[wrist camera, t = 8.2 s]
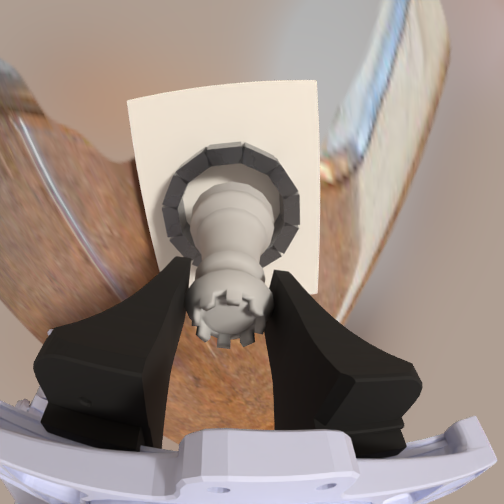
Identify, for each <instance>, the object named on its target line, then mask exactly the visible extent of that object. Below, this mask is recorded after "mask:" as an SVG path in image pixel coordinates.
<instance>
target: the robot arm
mask: <svg viewBox="0 0 504 504" xmlns="http://www.w3.org/2000/svg"><path fill="white" fill-rule="evenodd" d="M191 259H192V258H186V257H179V256H176V257H174V258H173V259H172V260H171V261H170V263H169V264H168V265H167V266H166V267H165V268H164V269H163V270H162V271H161V272H160V273H159V274H158V275H157V276H155V277H154V278H153V279H152V280H151V281H150V282H149V283H148V284H146V285H145V286H144V287H143V288H141V289H140V290H139V291H138V292H136V293H135V294H134V295H132V296H131V297H129V298H128V299H126V300H125V301H123V302H121V303H119V304H117V305H116V306H114V307H112V308H110V309H108V310H106V311H104V312H102V313H99V314H97V315H95V316H92V317H90V318H87V319H84V320H81V321H78V322H75V323H71V324H68V325H64V326H60V327H56V328H54V329H49V331H48V335H49V336H48V338H47V339H46V341H45V343H44V344H43V346H42V348H41V350H40V352H39V353H38V355H37V357H36V359H35V361H34V366H33V369H34V373H35V375H36V378H37V380H38V382H39V385H40V386H39V389H38V391H37V393H36V395H35V397H34V399H33V401H32V402H31V404H30V405H29V403H30V401H28V400H27V399H24V400H19V401H18V402H17V404H16V406H15V407H14V406H12V405H10V404H7V403H5V402H3V401H1V400H0V478H1V480H2V482H3V483H4V485H5V486H6V488H7V489H8V491H9V492H10V494H11V495H12V496H13V498H14V500H15V503H14V504H427V503H429V502H431V501H434V500H436V499H439V498H441V497H443V496H446V495H448V494H450V493H452V492H454V491H457V490H458V489H460V488H461V487H463V486H464V485H466V484H468V483H469V482H470V481H471V480H473V479H475V478H476V477H477V476H479V475H480V474H482V473H483V472H484V471H486V470H487V469H488V468H490V467H491V466H492V465H494V464H495V463H496V462H497V458H496V456H495V454H494V451H493V449H492V447H491V445H490V443H489V441H488V439H487V437H486V435H485V433H484V431H483V429H482V427H481V425H480V423H479V421H478V419H477V417H476V416H472V417H469V418H465V419H462V420H459V421H457V422H455V423H454V424H452V425H451V426H450V427H449V428H448V429H447V430H446V431H445V432H444V434H440V435H436V436H433V437H429V438H425V439H421V440H417V441H412V442H408V443H405V440H404V438H403V435H402V432H401V429H402V428H403V427H404V422H403V420H402V416H403V415H404V414H405V413H406V412H407V411H408V409H409V408H410V407H411V406H412V405H413V404H414V402H415V401H416V400H417V398H418V397H419V395H420V393H421V390H422V382H421V380H420V378H419V376H418V374H417V372H416V370H415V368H414V366H413V364H412V363H410V362H407V361H405V360H402V359H400V358H397V357H395V356H393V355H390V354H388V353H386V352H384V351H382V350H380V349H378V348H377V347H375V346H373V345H371V344H369V343H368V342H366V341H364V340H363V339H361V338H360V337H358V336H357V335H355V334H354V333H352V332H351V331H349V330H348V329H347V328H345V327H344V326H343V325H342V324H340V323H339V322H338V321H337V320H335V319H334V318H333V317H332V316H331V315H330V314H329V313H328V312H326V311H325V310H324V309H323V308H322V307H321V306H320V305H319V304H318V303H317V302H316V301H315V300H314V299H313V298H312V297H311V295H310V294H309V293H308V292H307V291H306V290H305V289H304V288H303V287H302V285H301V284H300V283H299V282H298V281H297V280H296V279H295V278H294V276H293V275H292V274H291V273H290V272H289V271H281V270H274V271H273V275H272V279H271V283H270V287H269V289H270V291H271V292H272V295H273V300H274V305H275V306H274V309H273V311H272V314H271V317H270V318H269V319H268V320H267V321H266V326H265V329H264V333H265V339H266V345H267V350H268V356H269V362H270V367H271V373H272V380H273V395H274V422H275V430H251V429H232V428H217V429H203V430H200V431H196V432H193V433H190V434H188V435H186V436H185V437H184V438H183V440H182V441H181V442H180V444H179V451H171V450H165V449H162V439H163V428H164V419H165V410H166V402H167V394H168V387H169V380H170V373H171V368H172V364H173V360H174V356H175V353H176V349H177V345H178V342H179V338H180V335H181V331H182V327H183V324H184V320H185V314H186V309H185V307H184V303H185V293H186V292H187V290H188V289H189V279H190V269H191Z"/></svg>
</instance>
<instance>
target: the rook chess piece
mask: <svg viewBox="0 0 504 504" xmlns="http://www.w3.org/2000/svg"><path fill="white" fill-rule="evenodd" d="M273 222H274V217H273V211H272V206H271V204H270V203H269V202H268V200H267V199H266V197H265V196H264V195H263V193H262V192H260V191H258V190H257V189H255V188H253V187H252V186H250V185H248V184H243V183H237V182H227V183H222V184H217V185H214V186H212V187H211V188H209V189H208V190H206V191H205V192H203V193H202V194H201V195H200V196H199V198H198V199H197V201H196V203H195V204H194V206H193V208H192V216H191V225H190V232H191V235H192V238H193V241H194V244H195V247H196V248H197V249H198V250H199V252H200V253H201V255H202V262H201V263H200V264H199V266H198V267H197V269H196V273H195V281H194V282H193V283H192V284H191V286H190V287H189V289H188V290H187V292H186V293H185V303H184V307H185V309H186V311H187V313H188V316H189V318H190V319H191V320H192V326H197V332H196V335H197V336H198V337H199V338H200V339H201V340H203V341H204V342H206V341H208V340H209V339H210V335H211V336H214V337H216V338H217V347H219V348H227V349H230V339H238V338H240V343H241V344H242V346H243V347H245V346H247V345H249V344H252V343H254V342H255V337H254V332H255V333H259V334H263V332H264V329H265V326H266V321H267V320H268V319H269V318H270V317H271V314H272V311H273V309H274V306H275V305H274V300H273V295H272V292H271V291H270V289H269V288H268V287H267V286H266V285H265V280H266V279H265V275H264V270H263V268H262V267H261V265H260V264H259V261H260V256H261V255H262V254H263V253H264V251H265V250H266V249H267V248H268V246H269V245H270V242H271V239H272V235H273V231H274V223H273Z"/></svg>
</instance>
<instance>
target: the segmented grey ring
mask: <svg viewBox="0 0 504 504" xmlns="http://www.w3.org/2000/svg"><path fill="white" fill-rule="evenodd" d="M239 163H241V164H244V165H246V166H248V167H250V168H253V169H255V170H257V171H259V172H261V173H264V174H266V175H268V177H269V178H270V179H271V181H272V182H273V184H274V185H275V187H276V188H277V190H278V191H279V201H280V214H279V215H278V217H277V219H276V221H275V223H274V231H273V235H272V239H271V242H270V245H269V246H268V248H267V249H266V250H265V251H264V253H263V254H262V255H261V256H260V261H259V264H260V265H261V267H262V268H264V267H265V266H267V265H269V264H270V263H272V262H273V261H275V260H277V259H278V258H280V257H282V255H281V253H283V254H285V252H286V250H287V248H288V247H289V245H290V243H291V242H292V240H293V238H294V236H295V235H296V233H297V231H298V230H299V227H298V225H300V195H299V193H298V190H297V188H296V186H295V185H294V183H293V182H292V180H291V179H290V177H289V176H288V174H287V173H286V171H285V170H284V168H283V167H282V165H281V164H280V162H279V161H278V159H277V158H275V157H274V155H272V154H270V153H268V152H266V151H263V150H261V149H259V148H257V147H255V146H252V145H250V144H248V143H246V142H245V143H244V145H243V147H242V144H241V142H231V143H221V144H212V145H209V147H208V148H207V147H206V146H205V147H204V148H203V149H201V150H200V151H199V152H197V153H196V154H195V155H193V156H192V157H191V158H189V159H188V160H187V161H185V162H184V163H183V164H181V166H180V167H179V168H178V169H177V171H176V172H175V173H174V175H173V177H172V179H171V182H170V185H169V187H168V190H167V192H166V195H165V198H164V200H163V203H162V205H163V207H162V212H163V217H164V222H165V227H166V232H167V237H171V238H170V240H169V241H170V242H171V243H172V244H173V245H174V246H175V248H176V249H177V250H178V251H179V252H180V253H181V254H182V255H183V257H186V258H192V259H191V261H192V260H193V262H192V265H194V266H197V267H198V266H199V264H200V263H201V262H202V255H201V253H200V252H199V250H198V249H197V248H196V247H195V244H194V241H193V238H192V235H191V232H190V225H189V224H188V222H187V220H186V214H185V208H184V202H183V196H184V194H185V191H186V189H187V186H188V184H189V182H190V181H192V180H193V179H194V178H196V177H197V176H198V175H200V174H201V173H203V172H204V171H205V170H207V169H208V168H209V167H211V166H219V165H228V164H239Z"/></svg>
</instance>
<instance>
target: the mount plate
mask: <svg viewBox="0 0 504 504" xmlns="http://www.w3.org/2000/svg"><path fill="white" fill-rule="evenodd" d="M127 107H128V114H129V122H130V129H131V135H132V142H133V148H134V154H135V160H136V166H137V171H138V177H139V182H140V187H141V192H142V197H143V202H144V207H145V212H146V216H147V221H148V225H149V230H150V234H151V239H152V243H153V247H154V251H155V255H156V259H157V263H158V267H159V271H160V272H161V271H162V270H163V269H164V268H165V267H166V266H167V265H168V264H169V263H170V261H171V260H172V259H173V258H174V257H176V256H179V257H183V255H182V254H181V253H180V252H179V251H178V250H177V249H176V248H175V246H174V245H173V244H172V243H171V242H170V241H169V240H170V238H171V237H167V232H166V227H165V222H164V217H163V212H162V207H163V205H162V203H163V200H164V198H165V195H166V192H167V190H168V187H169V185H170V182H171V179H172V177H173V175H174V173H175V172H176V171H177V169H178V168H179V167H180V166H181V164H183V163H184V162H185V161H187V160H188V159H189V158H191V157H192V156H193V155H195V154H196V153H197V152H199V151H200V150H201V149H203V148H204V147H205V146H206V147H207V148H208V147H209V145H212V144H221V143H231V142H241V144H242V147H243V145H244V143H245V142H246V143H248V144H250V145H252V146H255V147H257V148H259V149H261V150H263V151H266V152H268V153H270V154H272V155H274V157H275V158H277V159H278V161H279V162H280V164H281V165H282V167H283V168H284V170H285V171H286V173H287V174H288V176H289V177H290V179H291V180H292V182H293V183H294V185H295V186H296V188H297V190H298V193H299V195H300V225H298V227H299V230H298V231H297V233H296V235H295V236H294V238H293V240H292V242H291V243H290V245H289V247H288V248H287V250H286V252H285V254H283V253H281V255H282V257H280V258H278V259H277V260H275V261H273V262H272V263H270V264H269V265H267V266H265V267H264V268H263V270H264V275H265V279H266V280H265V285H266V286H267V287H268V288H269V287H270V283H271V279H272V275H273V271H274V270H281V271H289V272H290V273H291V274H292V275H293V276H294V278H295V279H296V280H297V281H298V282H299V283H300V284H301V285H302V287H303V288H304V289H305V290H306V291H307V292H308V293H309V294H317V291H318V269H319V237H320V149H319V118H318V98H317V82H316V80H280V81H259V82H244V83H233V84H223V85H214V86H205V87H198V88H191V89H184V90H178V91H173V92H166V93H161V94H156V95H150V96H146V97H141V98H136V99H132V100H127ZM227 182H237V183H243V184H248V185H250V186H252V187H253V188H255V189H257V190H258V191H260V192H262V193H263V195H264V196H265V197H266V199H267V200H268V202H269V203H270V204H271V206H272V211H273V217H274V222H273V223H275V221H276V219H277V217H278V215H279V214H280V201H279V191H278V190H277V188H276V187H275V185H274V184H273V182H272V181H271V179H270V178H269V177H268V175H266V174H264V173H261V172H259V171H257V170H255V169H253V168H250V167H248V166H246V165H244V164H241V163H239V164H228V165H219V166H211V167H209V168H208V169H207V170H205V171H204V172H203V173H201V174H200V175H198V176H197V177H196V178H194V179H193V180H192V181H190V182H189V184H188V186H187V189H186V191H185V194H184V196H183V202H184V208H185V214H186V220H187V222H188V224H189V225H191V216H192V208H193V206H194V204H195V203H196V201H197V199H198V198H199V196H200V195H201V194H202V193H203V192H205V191H206V190H208V189H209V188H211V187H212V186H214V185H217V184H222V183H227ZM192 262H193V260H192V261H191V269H190V279H189V287H190V286H191V284H192V283H193V282H194V281H195V273H196V269H197V266H194V265H192Z"/></svg>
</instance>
